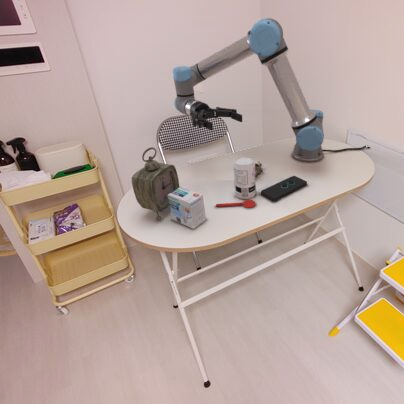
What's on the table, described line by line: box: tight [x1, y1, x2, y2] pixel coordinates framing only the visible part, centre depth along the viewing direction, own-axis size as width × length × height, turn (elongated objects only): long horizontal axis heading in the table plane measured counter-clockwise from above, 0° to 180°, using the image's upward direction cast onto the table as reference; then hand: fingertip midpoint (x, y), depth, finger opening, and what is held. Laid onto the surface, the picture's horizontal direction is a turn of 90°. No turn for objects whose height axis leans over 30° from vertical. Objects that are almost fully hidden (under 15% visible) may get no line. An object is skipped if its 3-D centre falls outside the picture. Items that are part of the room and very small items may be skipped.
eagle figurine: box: [255, 161, 267, 179], centre depth 135 cm, size 8×7×9 cm
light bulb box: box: [168, 186, 207, 230], centre depth 106 cm, size 11×7×11 cm, turn 58°
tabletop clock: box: [131, 146, 180, 221], centre depth 107 cm, size 14×9×25 cm, turn 160°
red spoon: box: [215, 199, 256, 209], centre depth 116 cm, size 15×5×1 cm, turn 96°
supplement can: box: [233, 156, 257, 200], centre depth 119 cm, size 8×8×15 cm
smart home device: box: [260, 175, 308, 203], centre depth 125 cm, size 8×2×20 cm
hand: (227, 122), depth 114 cm, fingers open, 13 cm apart
